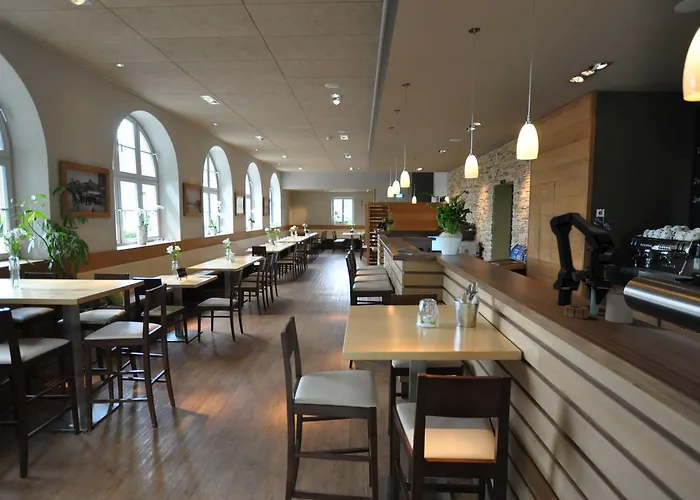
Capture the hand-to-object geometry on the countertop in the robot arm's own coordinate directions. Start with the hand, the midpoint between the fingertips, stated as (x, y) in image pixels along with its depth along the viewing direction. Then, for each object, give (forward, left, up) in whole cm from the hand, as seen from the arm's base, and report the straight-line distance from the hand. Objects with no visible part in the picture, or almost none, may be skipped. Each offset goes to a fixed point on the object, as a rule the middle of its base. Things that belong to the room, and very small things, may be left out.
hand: (594, 303), depth 160 cm
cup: (+9, +6, -5) cm, 12 cm away
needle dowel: (0, 0, -4) cm, 4 cm away
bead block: (+7, -8, -4) cm, 11 cm away
